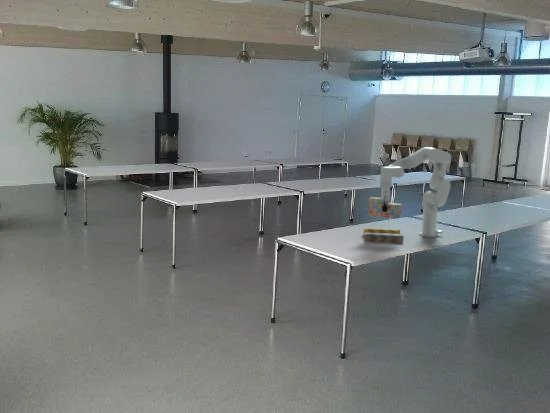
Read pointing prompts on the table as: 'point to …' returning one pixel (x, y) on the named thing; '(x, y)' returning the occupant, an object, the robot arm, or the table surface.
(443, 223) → the table surface
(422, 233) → the robot arm
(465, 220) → the table surface
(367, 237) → the dock
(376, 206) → the stack of blocks
